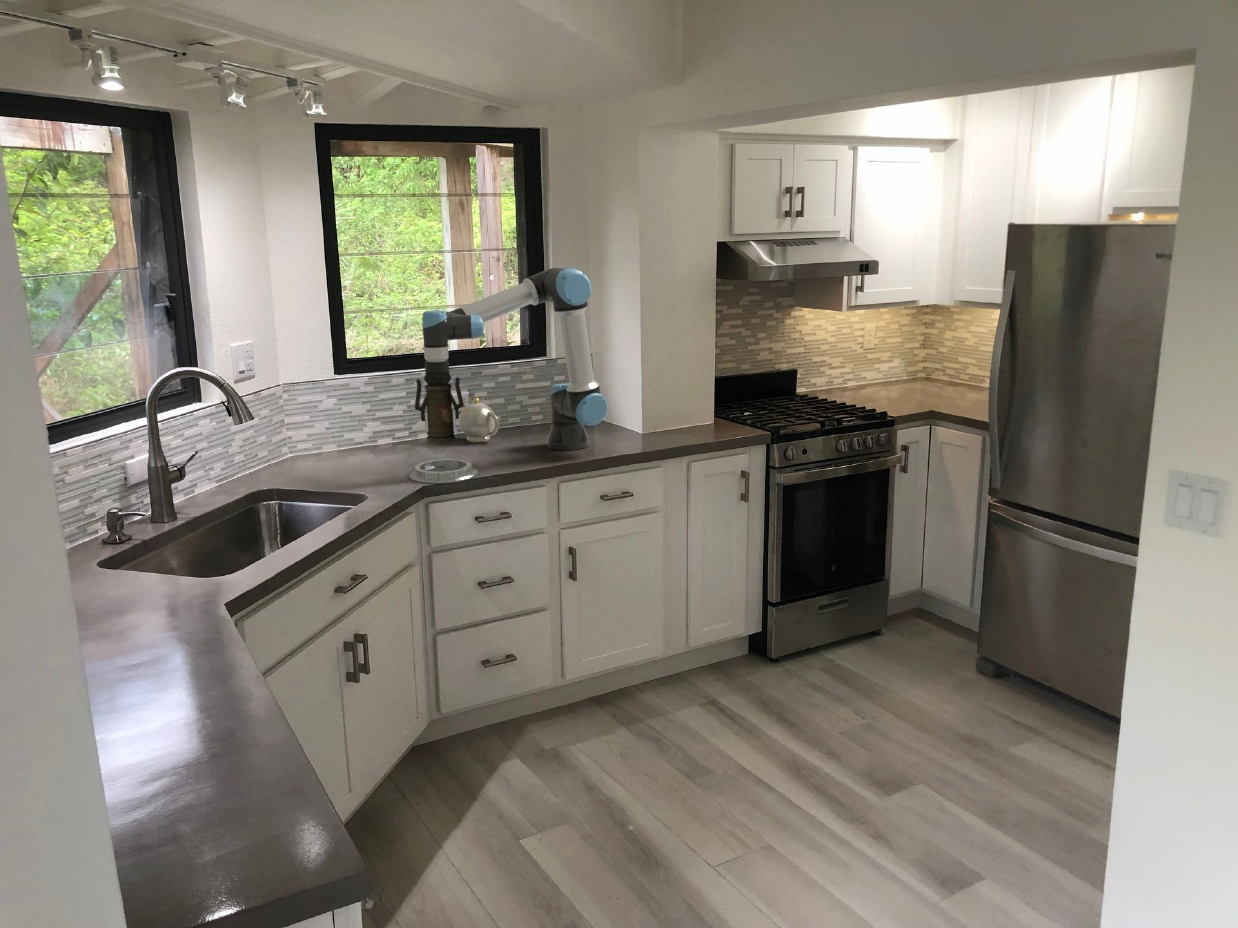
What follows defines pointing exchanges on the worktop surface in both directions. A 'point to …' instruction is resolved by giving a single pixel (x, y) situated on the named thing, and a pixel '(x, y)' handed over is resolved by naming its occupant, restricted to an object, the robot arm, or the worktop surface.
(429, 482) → the flange
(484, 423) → the teapot
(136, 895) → the worktop surface
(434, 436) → the container
